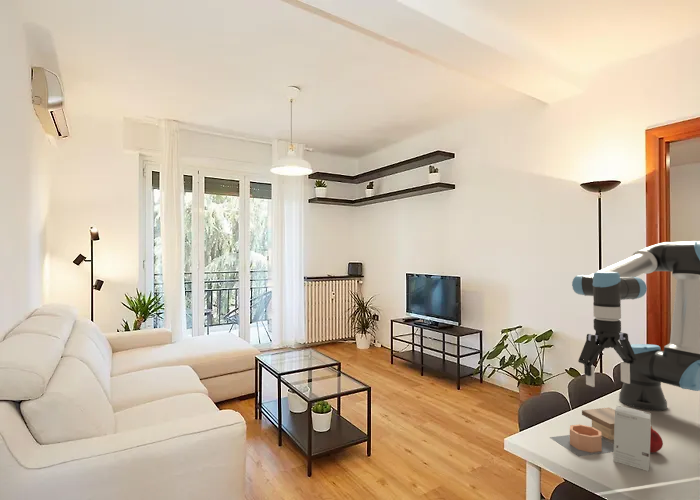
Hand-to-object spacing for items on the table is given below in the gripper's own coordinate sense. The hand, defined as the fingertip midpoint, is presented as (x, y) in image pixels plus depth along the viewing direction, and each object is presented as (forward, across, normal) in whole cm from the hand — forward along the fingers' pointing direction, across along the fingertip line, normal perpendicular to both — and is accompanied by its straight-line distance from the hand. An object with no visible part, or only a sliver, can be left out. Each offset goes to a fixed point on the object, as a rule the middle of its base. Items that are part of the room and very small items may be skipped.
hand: (608, 384), depth 127 cm
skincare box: (+17, +8, +16) cm, 25 cm away
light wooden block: (+17, 0, 0) cm, 17 cm away
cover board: (+12, 0, 0) cm, 12 cm away
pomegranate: (+17, -2, +12) cm, 21 cm away
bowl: (+16, +14, +5) cm, 22 cm away
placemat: (+17, +13, +4) cm, 21 cm away
